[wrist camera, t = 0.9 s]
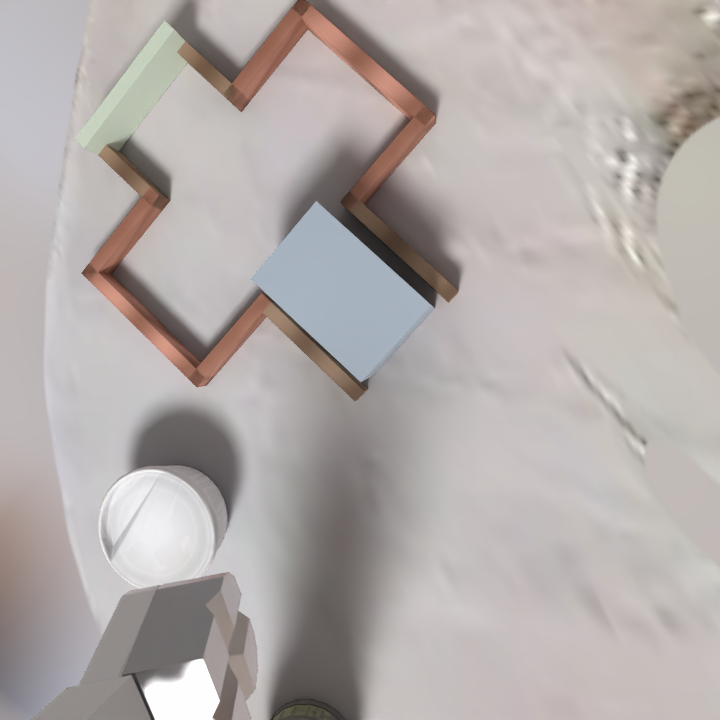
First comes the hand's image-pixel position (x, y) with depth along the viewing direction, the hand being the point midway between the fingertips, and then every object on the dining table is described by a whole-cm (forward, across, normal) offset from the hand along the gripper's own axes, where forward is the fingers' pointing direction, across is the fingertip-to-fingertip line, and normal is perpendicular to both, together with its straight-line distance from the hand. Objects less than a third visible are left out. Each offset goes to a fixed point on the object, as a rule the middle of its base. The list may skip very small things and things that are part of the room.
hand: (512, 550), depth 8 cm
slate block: (+43, +2, +6) cm, 44 cm away
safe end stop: (+52, +17, -14) cm, 57 cm away
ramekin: (+42, +22, +22) cm, 52 cm away
